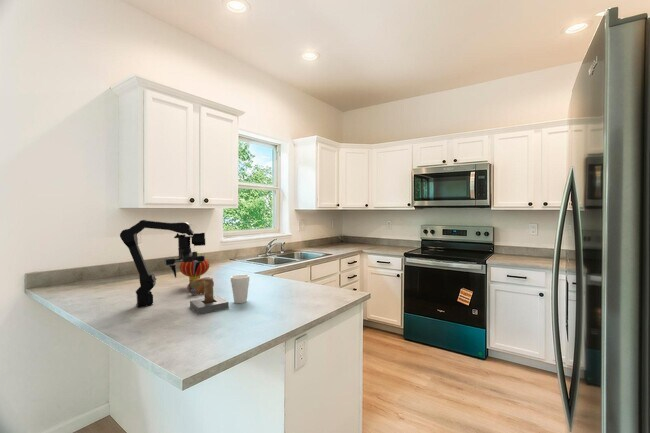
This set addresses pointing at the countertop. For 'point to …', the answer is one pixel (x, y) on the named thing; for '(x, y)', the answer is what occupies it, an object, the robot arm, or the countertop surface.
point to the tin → (197, 286)
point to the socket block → (209, 305)
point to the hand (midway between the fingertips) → (185, 276)
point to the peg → (208, 290)
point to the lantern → (188, 269)
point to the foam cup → (240, 287)
